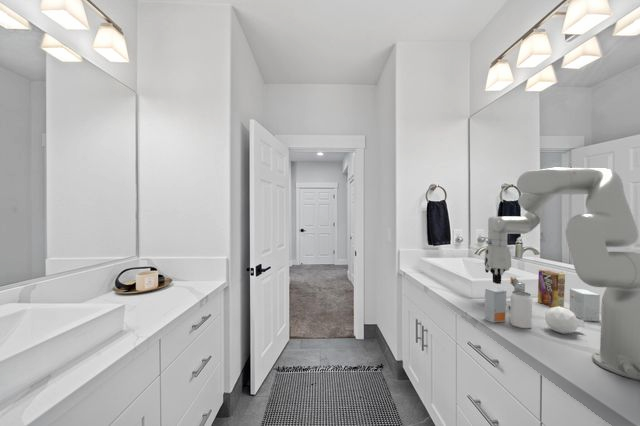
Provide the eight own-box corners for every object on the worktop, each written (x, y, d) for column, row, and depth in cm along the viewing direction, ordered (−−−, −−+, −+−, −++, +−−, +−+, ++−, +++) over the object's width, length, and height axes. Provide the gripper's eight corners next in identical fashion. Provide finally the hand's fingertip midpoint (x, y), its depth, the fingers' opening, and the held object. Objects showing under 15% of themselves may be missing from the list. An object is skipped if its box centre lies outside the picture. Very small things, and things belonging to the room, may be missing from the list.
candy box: (564, 308, 122) (565, 273, 122) (557, 309, 121) (558, 274, 121) (544, 301, 131) (545, 269, 131) (537, 302, 130) (538, 269, 130)
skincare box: (493, 323, 105) (494, 291, 104) (484, 319, 109) (484, 288, 109) (506, 321, 106) (507, 290, 106) (496, 317, 110) (497, 287, 110)
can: (506, 323, 105) (506, 291, 105) (516, 320, 107) (517, 289, 107) (524, 330, 99) (525, 296, 99) (535, 327, 102) (536, 294, 101)
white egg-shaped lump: (562, 334, 92) (595, 338, 93) (558, 305, 95) (590, 309, 96) (539, 331, 100) (570, 334, 101) (536, 304, 103) (566, 308, 104)
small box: (599, 322, 107) (600, 295, 107) (582, 320, 109) (583, 293, 108) (584, 314, 115) (585, 289, 115) (568, 313, 116) (569, 288, 116)
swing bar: (515, 292, 118) (515, 283, 118) (508, 283, 133) (508, 275, 133) (525, 293, 117) (525, 284, 117) (517, 284, 131) (517, 276, 131)
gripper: (486, 244, 124) (486, 285, 124) (519, 244, 125) (518, 285, 125) (476, 242, 132) (476, 281, 132) (507, 242, 132) (506, 281, 132)
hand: (496, 283), depth 128 cm, fingers closed
